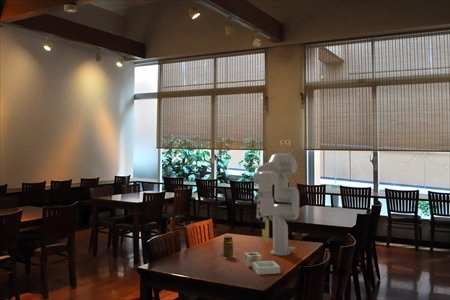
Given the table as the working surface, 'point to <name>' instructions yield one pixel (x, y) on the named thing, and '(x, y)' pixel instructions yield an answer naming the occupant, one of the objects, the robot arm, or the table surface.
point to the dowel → (266, 230)
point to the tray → (266, 267)
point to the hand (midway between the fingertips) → (265, 228)
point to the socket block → (251, 258)
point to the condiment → (227, 247)
